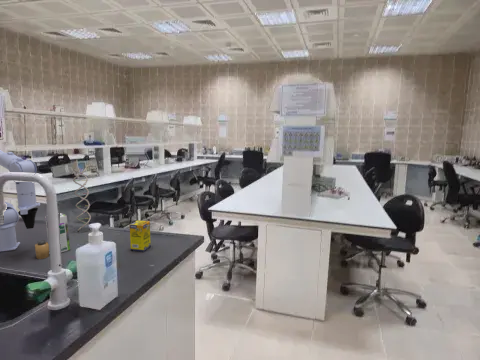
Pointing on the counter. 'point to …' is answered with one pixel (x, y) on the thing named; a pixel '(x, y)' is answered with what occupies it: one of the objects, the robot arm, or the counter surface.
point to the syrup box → (63, 233)
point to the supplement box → (140, 235)
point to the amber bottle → (42, 249)
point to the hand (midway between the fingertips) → (30, 228)
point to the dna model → (82, 197)
